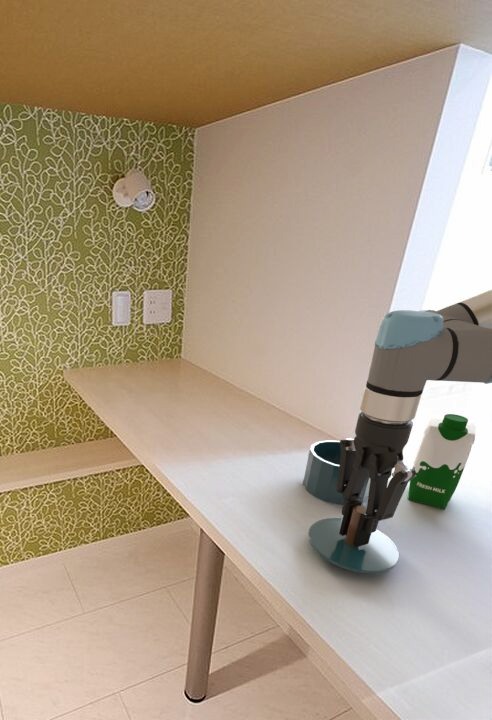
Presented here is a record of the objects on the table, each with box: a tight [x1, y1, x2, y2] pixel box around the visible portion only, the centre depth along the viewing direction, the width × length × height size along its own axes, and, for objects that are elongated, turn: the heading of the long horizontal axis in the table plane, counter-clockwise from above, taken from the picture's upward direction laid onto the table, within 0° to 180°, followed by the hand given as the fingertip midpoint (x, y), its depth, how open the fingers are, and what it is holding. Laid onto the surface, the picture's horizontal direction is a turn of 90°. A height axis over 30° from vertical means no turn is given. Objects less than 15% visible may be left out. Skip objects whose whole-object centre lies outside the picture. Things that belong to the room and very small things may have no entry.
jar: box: [302, 439, 371, 506], centre depth 97 cm, size 14×14×10 cm
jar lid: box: [307, 505, 400, 575], centre depth 76 cm, size 15×15×8 cm
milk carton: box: [407, 413, 476, 510], centre depth 93 cm, size 9×9×20 cm
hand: (353, 538), depth 77 cm, fingers closed on jar lid, 3 cm apart
